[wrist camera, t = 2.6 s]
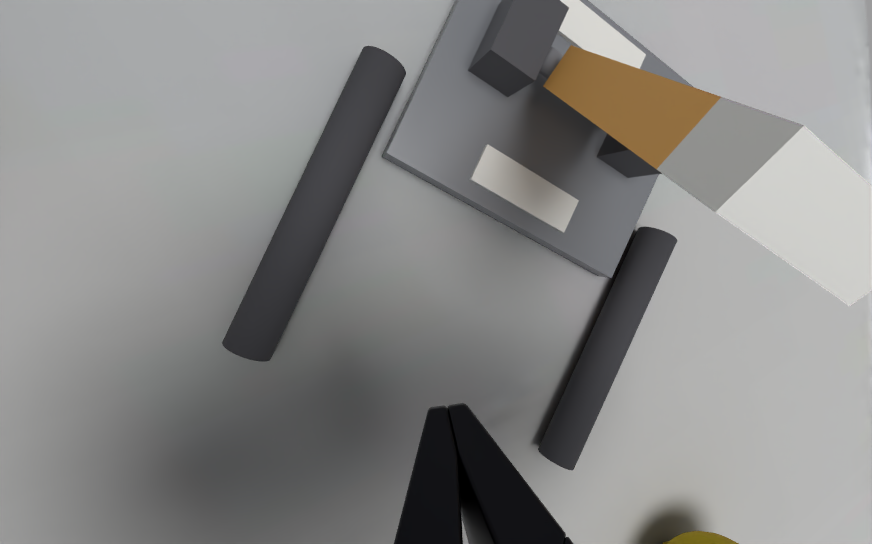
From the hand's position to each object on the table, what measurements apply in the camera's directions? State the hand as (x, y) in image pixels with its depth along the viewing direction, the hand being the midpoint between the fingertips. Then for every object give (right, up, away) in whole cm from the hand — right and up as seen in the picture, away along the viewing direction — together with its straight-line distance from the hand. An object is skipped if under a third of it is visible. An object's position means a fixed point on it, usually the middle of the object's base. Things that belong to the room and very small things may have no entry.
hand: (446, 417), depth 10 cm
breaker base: (+5, +11, +10) cm, 16 cm away
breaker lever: (+6, +11, +8) cm, 15 cm away
